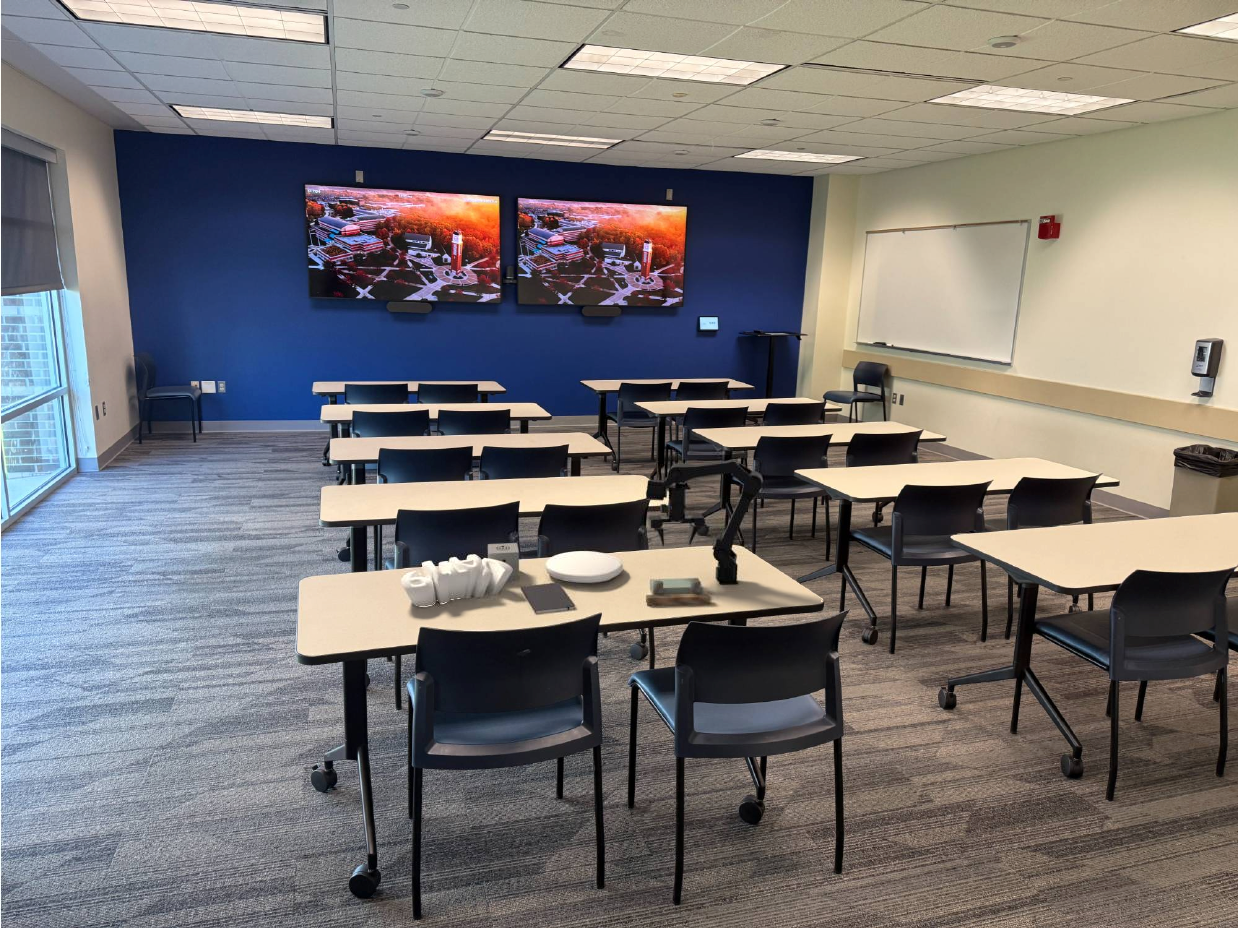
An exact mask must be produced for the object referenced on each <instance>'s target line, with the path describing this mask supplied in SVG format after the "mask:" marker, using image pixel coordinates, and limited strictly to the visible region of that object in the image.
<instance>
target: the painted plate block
mask: <svg viewBox="0 0 1238 928" xmlns="http://www.w3.org/2000/svg"><path fill="white" fill-rule="evenodd" d="M692 580H699V581H700V579H699V578H698V577H691V578H689V577H688V578H686V577H685V578H683V577H682V578H650V579H649V590H650V595H653V582H654V581H662V582H663V595H665V594H690V584H691V581H692ZM703 590H704V586H703V584H702V583H701V587H700V594H704V593H703V592H704V591H703Z"/></svg>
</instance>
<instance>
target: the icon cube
mask: <svg viewBox="0 0 1238 928" xmlns="http://www.w3.org/2000/svg"><path fill="white" fill-rule="evenodd" d="M519 556H520V552H519V547H518V543H517V542H513V543H512V542H511V543H510V542H509V543H508V542H507V543H489V544H487V558H488V559H494V560H498V561H502V562H504V563H506V564H508V565H509V566H511V567H512V568H513V571H512V573H511V574H510V576H509V578H508V579H507V581H506V582H509V581H510V582H512V581H520V557H519Z"/></svg>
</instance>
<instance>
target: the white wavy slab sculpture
mask: <svg viewBox="0 0 1238 928" xmlns="http://www.w3.org/2000/svg"><path fill="white" fill-rule="evenodd" d="M421 565H422V571H423V576H422V574H421V571H419V570H414V571H410V572H407V573H405V574H404V576H402V577H401V580H400V585H401V586H402V588H403V590H404V591H405V593H406V595H407V596H408V598H409V600H410V602H411V603H412V605H413V604H414V605H417V606H428V605H433V604H434V603H436V600H438V601H439V602H440V603H445V602H449V603H450V601H449V600H451V599H457V598H463V599H465V598H464V597H470V596H471V597H474V598H475V597H477V598H476V599H479V598H478V597H481V598H483V597H484V596H485V593H486V590H487V593H489V594H490V595H491V596H495V595H499V593H500V592H501V590H502V589H503V588H504V585H505V584H506V582H508V581H507V579H508V578H509V576H510V574H511V573H512V571H513V568H512V567H511V566H509V565H508V564H506V563H504V562H502V561H498V560H494V559H488V557H487V558H486V557H484V558H483V559H481V557H480V556H478V555H477V554H468V555H467V557H466V559H465V560H464V559H463V560H460V559H458V558H457V556H456V557H455V556H454V557H450V558H449V560H447V561H446V560H445V561H440V562H439V563H438V568H437V567H436V566H435V564H434V563H433V561H432V560H427V561H424V562H421ZM473 595H474V596H473ZM471 597H470V598H471ZM436 604H437V603H436ZM414 605H413V606H414Z"/></svg>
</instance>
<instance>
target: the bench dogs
mask: <svg viewBox="0 0 1238 928" xmlns="http://www.w3.org/2000/svg"><path fill="white" fill-rule="evenodd" d="M701 584H702V582H701V580H700V579H699V580H692V581H691V584H690V594H665V595H663V582H662V581H654V582H653V595H652V594H646V595H645V604H646V603H647V604H646V606H647V607H649V606H648V605H651V606H650V607H654V606H655V607H657V606H659V605H660V606H686V605H687V606H689V605H692V606H693V605H696V604H697V605H710V604H711V595H710V593H703V594H700V587H701ZM697 605H696V606H697ZM660 606H659V607H660Z"/></svg>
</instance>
